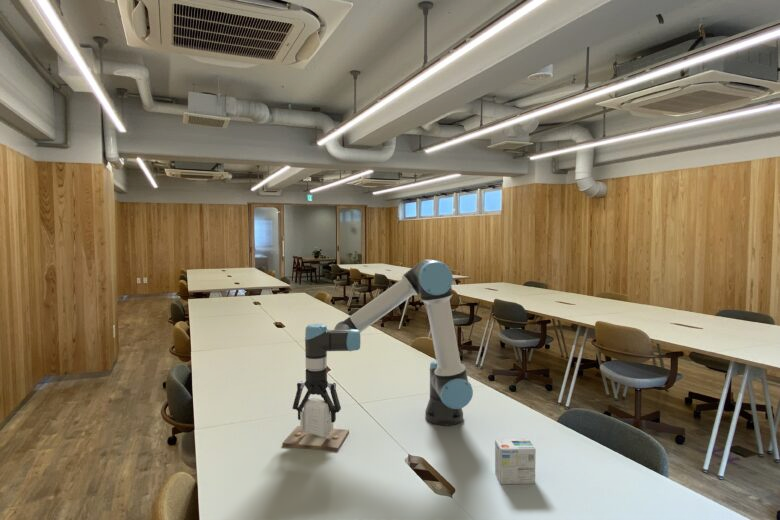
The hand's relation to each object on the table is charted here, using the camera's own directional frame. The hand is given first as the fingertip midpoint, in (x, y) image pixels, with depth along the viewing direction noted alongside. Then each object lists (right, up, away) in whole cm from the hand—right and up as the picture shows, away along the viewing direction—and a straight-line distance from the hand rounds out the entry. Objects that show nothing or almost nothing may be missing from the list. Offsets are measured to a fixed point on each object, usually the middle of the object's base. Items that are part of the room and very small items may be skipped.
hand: (316, 429), depth 156 cm
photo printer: (0, -1, 0) cm, 1 cm away
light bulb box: (+63, -5, -25) cm, 68 cm away
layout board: (0, -4, 0) cm, 4 cm away
